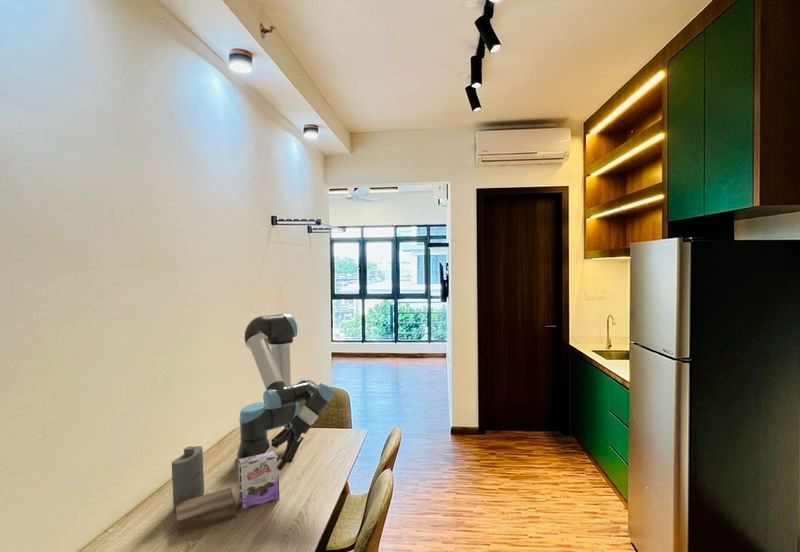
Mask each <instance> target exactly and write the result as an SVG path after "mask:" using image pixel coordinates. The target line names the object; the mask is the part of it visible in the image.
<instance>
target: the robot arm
mask: <svg viewBox="0 0 800 552" xmlns="http://www.w3.org/2000/svg"><path fill="white" fill-rule="evenodd" d="M298 332H299V331H298V324H297V322H296V319H295V318H294V316H293V315H292V314H289V313H280V314H279V313H278V314H272V315H271V314H270V315H261V316H258V317H255V318H254V319H252V320H251V321H250V322H249V323H248V324H247V326H246V329H245V331H244V337H243V338H244V343H245V345H246V348H247V349H249V350H250V352H251V354H252V357H253V360H254V362H255V365H256V367H257V371H259V372H258V373H259V374H260V377H261V379H262V382H263V385H264V387H265V390H264V393H263V398H262V400H263V401H260V402H254V403H250V404H248V405H246V406H244V407H242V409H241V410H240V412H239V430H240V443H239V447H238V450H237V454H236V457H237V461H238V459H242V458H247V457H251V456H256V455H260V454H265V453H269V452H273V451H276V452H277V449H279V447H280V446H281V445H283V444H285V442H286V443H287V444H286V448H285V450H284V452H283V455H282V456H281V457H280V458H279V459H278V462H277V464H276V465H275V466H274V468H273V469H272V470H271V472H270V473H269V474H268V475H269V476H271V477H272V478H274V479H275V478H276V476H277V475H278V474H280V472H281V471H282V470H283V468H284V467H285V465H286V464H292V462H293V459H294V457H295V456H296V453H297V452H298V450H299V447H300V445H301V443H302V442H303V441H304V437H303V436H302V434H303V435H306V434H307V433H308V431H309V430H310V429H311V427H312V426H311V425H313V424H314V423H315V422H316V421H317V420H318V418H319V417H320V415H321V414H322V413H323V411H324V410H325V409H326V407H327V406H328V404H330V402H331V401H332V399H333V398H334V396H335V390H333V388H332V387H330V386H329V385H327V384H326V383H325V382H320V383H318V384H316V383H315V382H314V381H312V380H310V379H307V378H303V379H301V380H299V381H298V382H297V383H295V384H291V383H292V382H291V381H292V380H291V376H292V375H291V345H292V344H293V343H294V338H296V337H297V336H298ZM303 402H305V403H304V404H303V405H302V406H301V408H300V405H299V404H300V403H303ZM283 427H284V428H283ZM279 428H283V429H282V430H281V431H280V432H279V433H277V434H276V435H275V436H274V437H273V438H272V439H271V440H269V438H268V431H271V430H275V429H279ZM270 441H271V443H270Z"/></svg>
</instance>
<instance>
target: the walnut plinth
mask: <svg viewBox="0 0 800 552" xmlns="http://www.w3.org/2000/svg"><path fill="white" fill-rule="evenodd" d="M175 513H176V514H175V515H176V517H175V519H176V528H177V529H176V531H177V532H176V533H177V537H180V536H183V535H186V534H188V533H192V532H196V531H199V530H202V529H204V528H208V527H210V526H214V525H217V524H220V523H223V522H226V521H229V520H232V519H236V518H237V502H236V499H235V497H234V494H233V491H232V488H231V487H229V488H225V489H221V490H218V491H214V492H211V493H207V494H202V496H199V497H196V498H192V499H189V500H185V501H182V502H178V503H176V512H175Z"/></svg>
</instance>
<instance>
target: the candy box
mask: <svg viewBox="0 0 800 552" xmlns="http://www.w3.org/2000/svg"><path fill="white" fill-rule="evenodd" d="M278 461H279V456H278V454H277V450H276V451H273V452H269V453H265V454H260V455H256V456H251V457H247V458H242V459H238V460H237V473H238V475H237V476H238V478H237V479H238V503H239V508H240V510H245V509H248V508H252V507H255V506H260V505H263V504H267V503H270V502H273V501H278V500H280V480H279V479H280V478H279V474H280V473H279V474H278V475H277V476H276V478H275V479H274V478H272V477H271V476H269V475H268V474H269V473H270V472H271V470H272V469H273V468H274V466H275V465H276V464H277V462H278Z"/></svg>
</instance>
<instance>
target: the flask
mask: <svg viewBox="0 0 800 552" xmlns="http://www.w3.org/2000/svg"><path fill="white" fill-rule="evenodd" d="M203 455H204V453H203V447H202V446H200V445H196V446H195V445H194V446H190V445H189V446H186V447H185V448H183V454H182V455H181V456H179V457H178V458H176V459H174V460H173V461H172V462H171V479H172V480H171V481H172V501H173V502H172V505H173V506H172V507H173V511H174V512H175V513H176V503H178V502H182V501H185V500H189V499H192V498H196V497H199V496H203V495H204V492H205V482H204V481H205V479H204V478H205V477H204V456H203Z"/></svg>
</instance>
